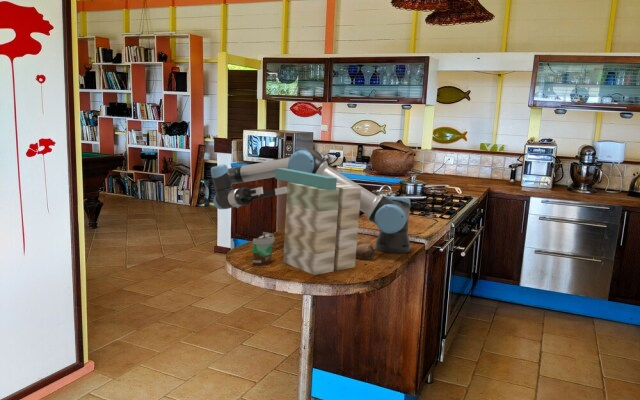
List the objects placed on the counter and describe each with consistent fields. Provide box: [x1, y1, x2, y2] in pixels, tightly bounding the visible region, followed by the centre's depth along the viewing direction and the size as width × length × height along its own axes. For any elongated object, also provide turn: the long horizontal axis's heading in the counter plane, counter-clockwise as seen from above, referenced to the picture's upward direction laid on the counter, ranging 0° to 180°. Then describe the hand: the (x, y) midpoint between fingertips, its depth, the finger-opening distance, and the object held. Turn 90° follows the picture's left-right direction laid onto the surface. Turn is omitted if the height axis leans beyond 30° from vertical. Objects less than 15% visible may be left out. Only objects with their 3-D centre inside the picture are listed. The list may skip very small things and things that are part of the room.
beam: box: [274, 168, 337, 190], centre depth 183 cm, size 30×4×4 cm, turn 41°
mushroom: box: [356, 242, 375, 260], centre depth 202 cm, size 8×8×6 cm
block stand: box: [282, 182, 361, 276], centre depth 186 cm, size 18×20×30 cm
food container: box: [252, 231, 276, 266], centre depth 186 cm, size 12×6×10 cm, turn 168°
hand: (274, 189), depth 203 cm, fingers open, 13 cm apart
